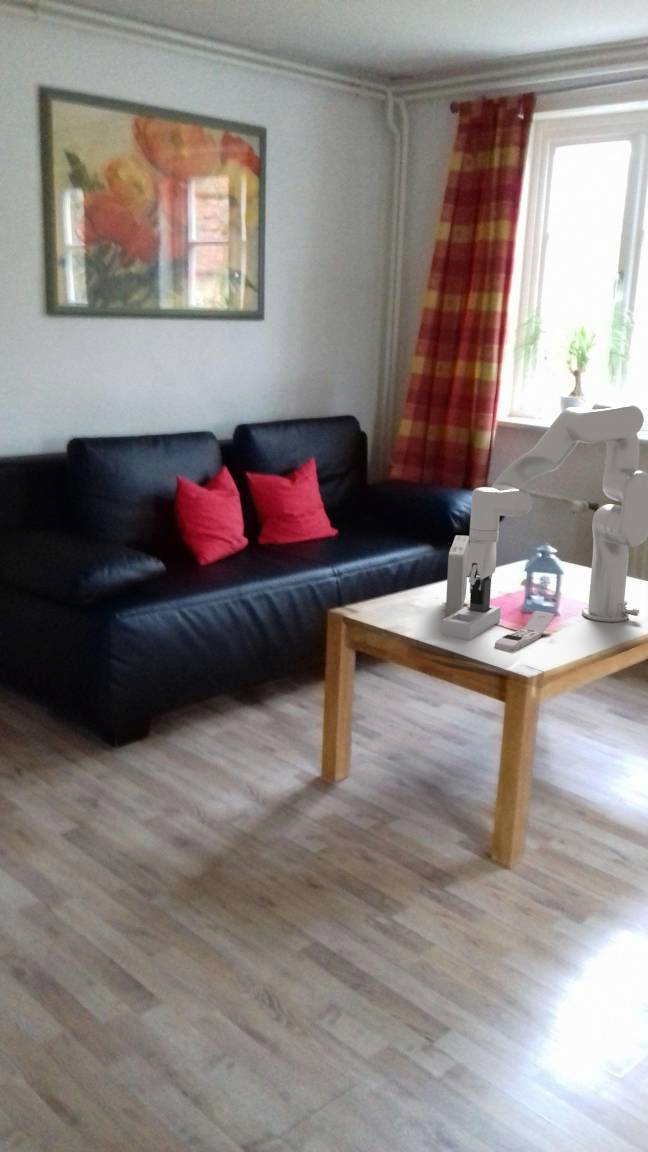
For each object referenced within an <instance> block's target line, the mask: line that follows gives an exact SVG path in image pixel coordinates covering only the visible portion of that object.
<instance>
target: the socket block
mask: <svg viewBox="0 0 648 1152" xmlns="http://www.w3.org/2000/svg"><path fill="white" fill-rule="evenodd" d="M468 604H469V605H468V606H463V608H462V609H461V610H459V611H457V612H455V613H453V614H452V615H450V616H448V617H446V616H445V617H444V618H442V620H441V630H440V634H441V636H445V637H451V638H454V639H455V638H456V639H460V640H466V641H471V640H473V639H474V638H476V637H477V636H479V635H480V634H482V633H484V632H485V631H487V630H489V629H490V628H492V627H493V626H495V625H497V624H498V623H500V621H501V620H500V619H501V609H502V608H501V606H495V605H492V604H490V608H489V611H487V612H486V613H482V612H476V611H471V610H470V603H468Z"/></svg>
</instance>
